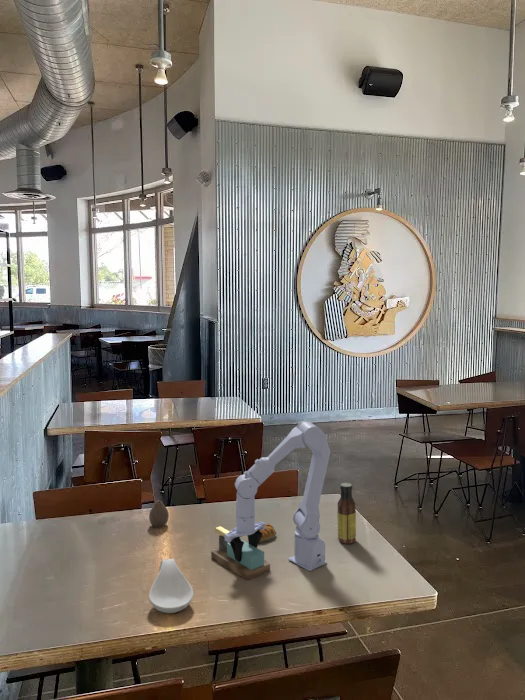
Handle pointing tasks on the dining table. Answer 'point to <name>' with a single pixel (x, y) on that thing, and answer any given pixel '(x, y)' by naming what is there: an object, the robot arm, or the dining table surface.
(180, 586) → the spoon rest
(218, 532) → the tan rectangular bar
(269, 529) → the pastry
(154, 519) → the grey oval piece
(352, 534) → the sauce bottle
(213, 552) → the base
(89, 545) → the dining table surface
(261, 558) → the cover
